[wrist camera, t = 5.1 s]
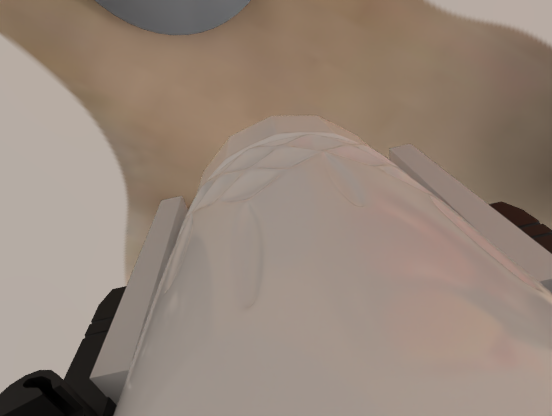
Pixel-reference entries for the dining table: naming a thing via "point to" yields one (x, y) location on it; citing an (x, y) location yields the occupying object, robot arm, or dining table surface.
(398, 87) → the dining table surface
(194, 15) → the dish
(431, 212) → the white cup
